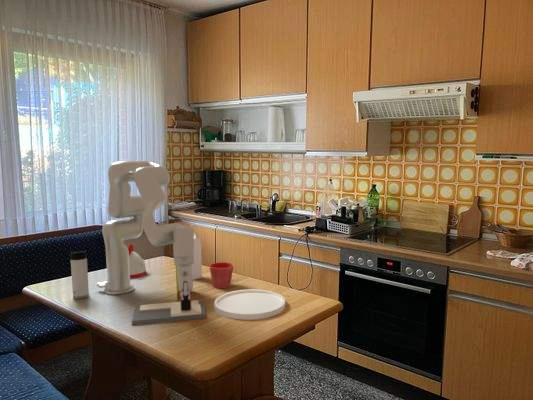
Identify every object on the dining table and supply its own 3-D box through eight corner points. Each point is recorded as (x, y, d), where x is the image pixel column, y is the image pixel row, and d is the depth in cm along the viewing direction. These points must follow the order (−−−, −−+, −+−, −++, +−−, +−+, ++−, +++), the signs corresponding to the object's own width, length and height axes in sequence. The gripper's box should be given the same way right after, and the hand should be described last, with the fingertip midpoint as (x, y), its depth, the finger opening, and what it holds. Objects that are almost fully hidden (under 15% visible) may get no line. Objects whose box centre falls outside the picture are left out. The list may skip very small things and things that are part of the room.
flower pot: (223, 280, 201) (222, 260, 200) (238, 285, 193) (238, 264, 192) (205, 285, 194) (204, 265, 193) (220, 291, 186) (219, 269, 185)
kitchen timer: (148, 270, 221) (147, 241, 219) (142, 278, 207) (141, 247, 206) (121, 270, 220) (120, 242, 219) (113, 278, 207) (111, 248, 205)
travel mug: (73, 300, 176) (70, 253, 174) (72, 295, 182) (69, 250, 180) (89, 297, 179) (86, 251, 177) (88, 293, 185) (85, 248, 183)
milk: (192, 280, 202) (190, 235, 200) (184, 277, 206) (182, 233, 204) (202, 277, 207) (200, 232, 204) (194, 275, 211) (193, 231, 208)
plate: (252, 327, 149) (252, 320, 148) (199, 308, 167) (199, 302, 166) (299, 304, 170) (299, 298, 169) (248, 290, 188) (248, 285, 188)
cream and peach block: (170, 316, 153) (170, 298, 153) (170, 309, 161) (170, 291, 160) (201, 314, 156) (201, 295, 155) (200, 306, 163) (199, 289, 162)
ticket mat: (132, 325, 151) (131, 319, 150) (135, 309, 165) (135, 304, 165) (205, 318, 156) (205, 312, 156) (202, 303, 171) (202, 298, 170)
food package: (178, 302, 173) (176, 254, 170) (175, 302, 173) (174, 254, 171) (192, 290, 188) (190, 246, 185) (190, 290, 188) (188, 245, 186)
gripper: (195, 265, 149) (197, 315, 151) (193, 253, 165) (194, 299, 167) (173, 266, 147) (175, 317, 149) (173, 255, 163) (175, 300, 165)
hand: (185, 307), depth 158 cm, fingers open, 4 cm apart
